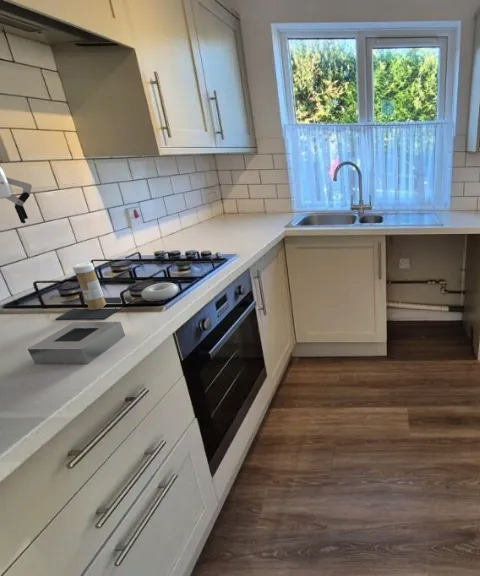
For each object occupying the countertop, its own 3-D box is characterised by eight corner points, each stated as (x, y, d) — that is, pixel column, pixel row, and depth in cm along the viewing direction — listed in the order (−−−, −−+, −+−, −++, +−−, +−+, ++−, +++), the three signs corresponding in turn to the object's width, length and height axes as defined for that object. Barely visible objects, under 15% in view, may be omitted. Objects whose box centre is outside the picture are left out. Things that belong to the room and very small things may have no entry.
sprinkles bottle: (85, 308, 106) (68, 265, 100) (103, 302, 109) (87, 260, 104) (93, 312, 103) (76, 268, 98) (110, 306, 107) (95, 263, 102)
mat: (55, 319, 100) (55, 318, 100) (94, 298, 113) (93, 297, 113) (104, 319, 100) (104, 318, 100) (137, 298, 113) (137, 297, 113)
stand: (34, 364, 80) (27, 348, 79) (78, 335, 92) (72, 322, 90) (87, 363, 80) (81, 348, 79) (125, 335, 91) (120, 321, 90)
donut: (138, 298, 113) (149, 306, 107) (135, 287, 112) (145, 295, 106) (172, 288, 120) (184, 295, 114) (170, 278, 119) (181, 285, 112)
